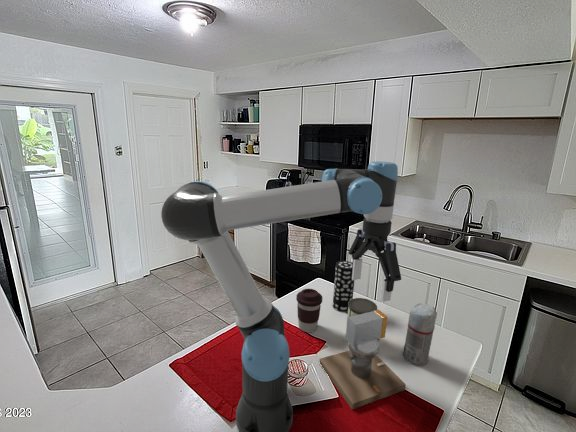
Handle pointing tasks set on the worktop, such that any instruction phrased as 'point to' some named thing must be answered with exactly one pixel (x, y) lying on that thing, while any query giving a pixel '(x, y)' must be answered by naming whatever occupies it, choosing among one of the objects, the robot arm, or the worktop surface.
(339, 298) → the white-spotted black cylinder
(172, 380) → the worktop surface
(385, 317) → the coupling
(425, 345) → the spray can
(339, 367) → the base
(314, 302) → the coffee cup
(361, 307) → the coffee can
